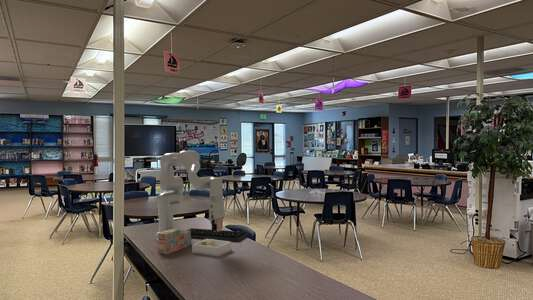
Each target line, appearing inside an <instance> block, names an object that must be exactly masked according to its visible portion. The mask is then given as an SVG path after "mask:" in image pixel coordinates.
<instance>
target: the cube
mask: <svg viewBox="0 0 533 300" xmlns="http://www.w3.org/2000/svg"><path fill="white" fill-rule="evenodd" d="M199 242H200V245H204V246H211V247H212V240H208V239H201V240H200V241H199Z"/></svg>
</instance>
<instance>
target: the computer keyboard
mask: <svg viewBox="0 0 533 300" xmlns="http://www.w3.org/2000/svg"><path fill="white" fill-rule="evenodd" d="M186 231H191V240H192V239H194V240H205V239H213V240H221V241H229V242H231V241H232V242H231V243H240V242H241V241H242V239H243V240H244V239H246V238H247V237H249V233H248V232H246V231H240V230H239V231H238V230H236V231H235V230H223V229H222V230H221V231H212V229H209V228H208V229H207V228H193V227H192V228H191V227H190V228H189V229H187V230H186Z"/></svg>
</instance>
